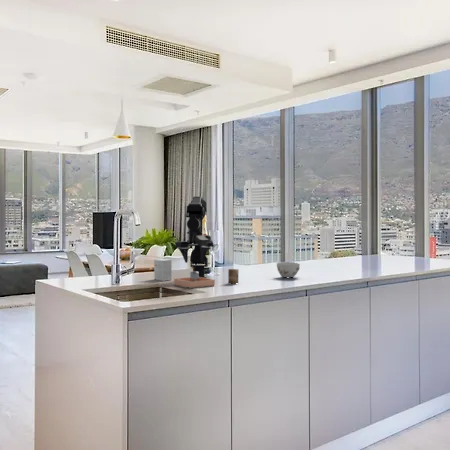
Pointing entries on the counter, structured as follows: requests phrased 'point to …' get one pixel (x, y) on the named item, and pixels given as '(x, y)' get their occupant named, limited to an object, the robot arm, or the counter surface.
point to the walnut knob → (233, 276)
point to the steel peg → (194, 276)
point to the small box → (162, 269)
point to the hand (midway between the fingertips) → (194, 262)
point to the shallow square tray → (194, 282)
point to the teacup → (288, 269)
